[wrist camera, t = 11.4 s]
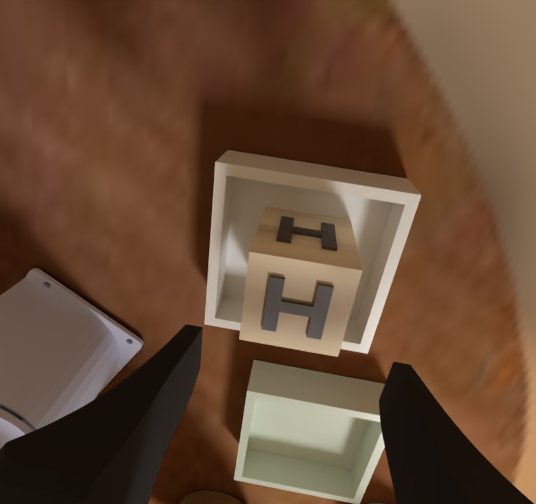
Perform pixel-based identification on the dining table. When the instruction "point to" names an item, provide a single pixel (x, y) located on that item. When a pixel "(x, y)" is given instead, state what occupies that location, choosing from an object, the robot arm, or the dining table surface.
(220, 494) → the plant pot
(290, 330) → the letter block
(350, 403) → the sage tray
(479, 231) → the dining table surface
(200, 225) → the dining table surface
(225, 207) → the white tray
